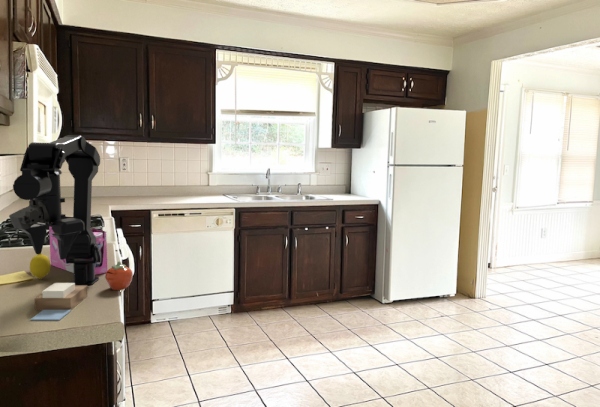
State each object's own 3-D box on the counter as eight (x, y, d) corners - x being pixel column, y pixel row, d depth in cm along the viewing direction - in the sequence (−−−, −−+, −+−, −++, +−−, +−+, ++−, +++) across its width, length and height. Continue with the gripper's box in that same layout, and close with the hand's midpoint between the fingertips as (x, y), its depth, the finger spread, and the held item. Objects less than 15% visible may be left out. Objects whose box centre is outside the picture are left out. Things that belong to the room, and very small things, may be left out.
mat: (43, 310, 113) (43, 309, 113) (71, 310, 113) (71, 309, 113) (30, 320, 106) (30, 319, 106) (59, 320, 107) (59, 319, 107)
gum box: (110, 273, 148) (110, 232, 147) (87, 278, 142) (86, 235, 140) (72, 261, 162) (71, 223, 160) (49, 265, 156) (48, 226, 154)
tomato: (101, 287, 132) (100, 260, 132) (126, 283, 138) (126, 257, 137) (111, 294, 127) (111, 265, 126) (137, 289, 132) (137, 261, 131)
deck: (55, 296, 124) (54, 285, 124) (87, 296, 125) (87, 285, 124) (35, 310, 113) (34, 298, 113) (70, 310, 114) (70, 298, 113)
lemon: (53, 276, 142) (52, 251, 141) (47, 281, 137) (46, 255, 136) (34, 276, 141) (33, 251, 140) (27, 282, 136) (25, 255, 135)
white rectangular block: (55, 289, 120) (55, 282, 120) (75, 289, 120) (74, 282, 120) (42, 298, 113) (42, 290, 113) (63, 298, 114) (63, 291, 113)
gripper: (-10, 194, 108) (-6, 258, 111) (41, 201, 100) (44, 270, 102) (35, 190, 118) (38, 249, 121) (84, 196, 110) (87, 259, 112)
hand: (50, 256), depth 114 cm, fingers open, 9 cm apart
